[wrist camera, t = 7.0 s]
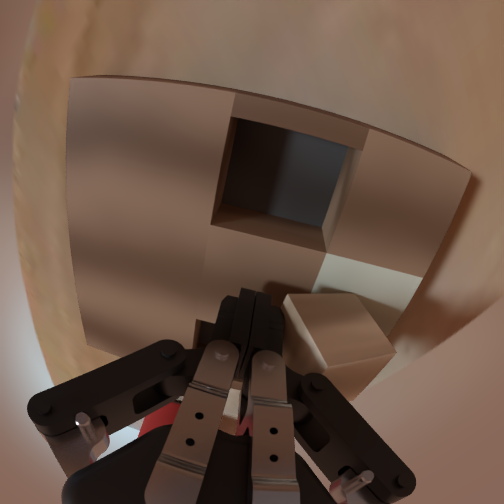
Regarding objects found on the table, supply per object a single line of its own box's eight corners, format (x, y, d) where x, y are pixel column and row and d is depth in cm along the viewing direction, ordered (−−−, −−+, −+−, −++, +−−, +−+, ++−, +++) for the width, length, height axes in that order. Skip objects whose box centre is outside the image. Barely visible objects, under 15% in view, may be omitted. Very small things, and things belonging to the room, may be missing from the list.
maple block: (287, 293, 14) (328, 366, 11) (354, 293, 15) (396, 352, 12) (259, 350, 16) (287, 416, 13) (321, 344, 17) (353, 400, 14)
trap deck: (102, 75, 14) (70, 77, 11) (445, 155, 14) (472, 172, 11) (103, 319, 23) (87, 344, 20) (334, 375, 23) (337, 405, 21)
